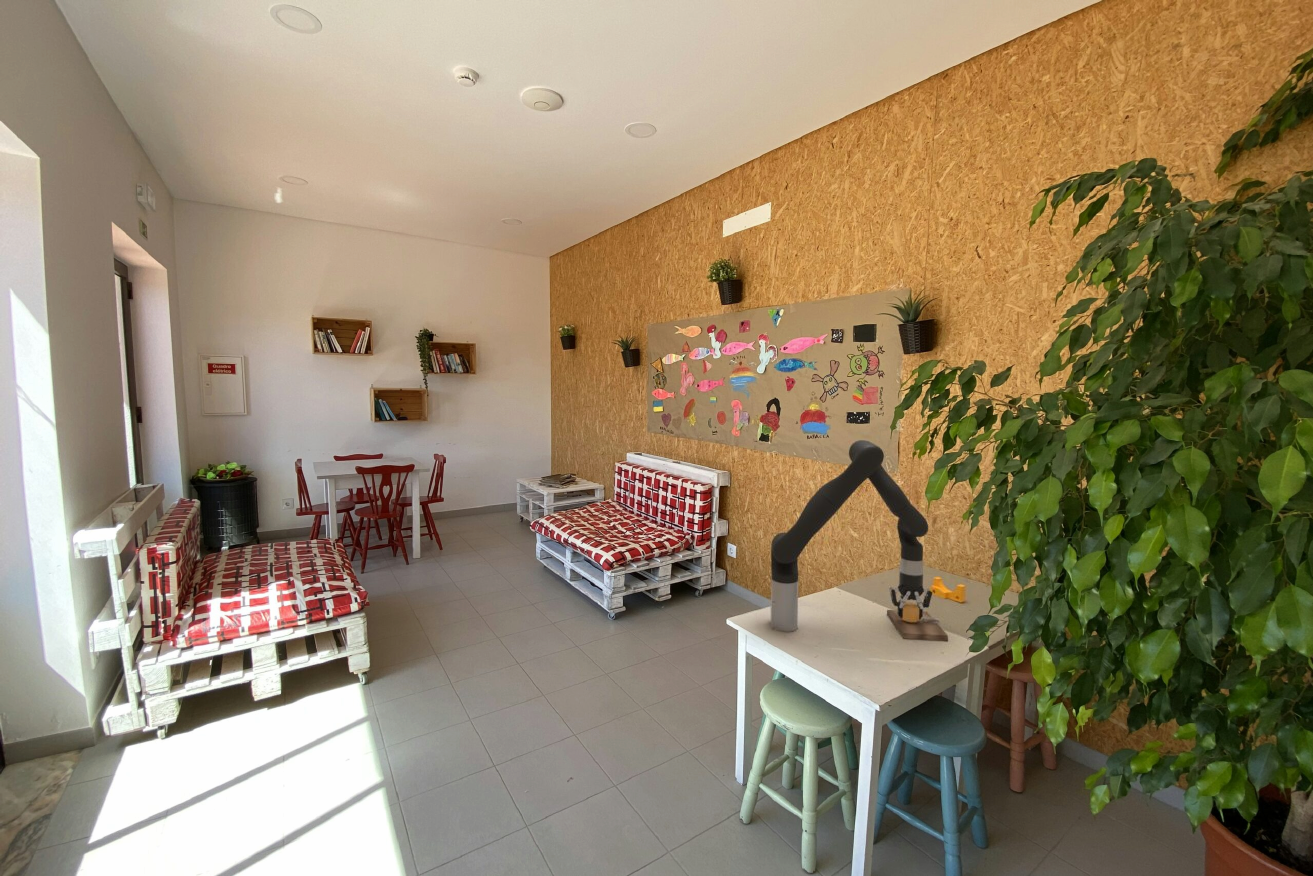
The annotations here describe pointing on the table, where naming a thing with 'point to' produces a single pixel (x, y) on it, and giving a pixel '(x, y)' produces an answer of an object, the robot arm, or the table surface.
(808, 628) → the table surface
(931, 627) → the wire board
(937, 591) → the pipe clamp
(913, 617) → the orange rounded block
